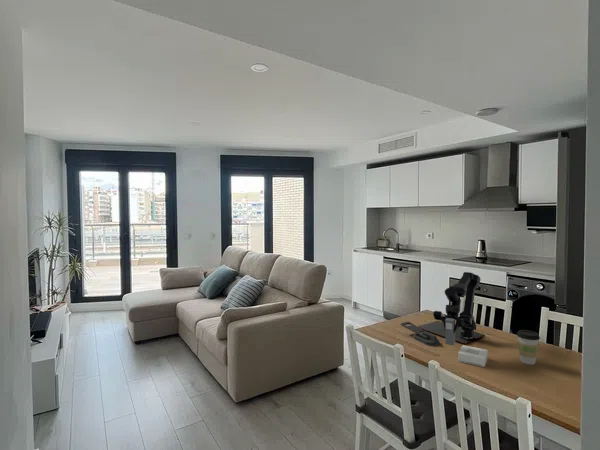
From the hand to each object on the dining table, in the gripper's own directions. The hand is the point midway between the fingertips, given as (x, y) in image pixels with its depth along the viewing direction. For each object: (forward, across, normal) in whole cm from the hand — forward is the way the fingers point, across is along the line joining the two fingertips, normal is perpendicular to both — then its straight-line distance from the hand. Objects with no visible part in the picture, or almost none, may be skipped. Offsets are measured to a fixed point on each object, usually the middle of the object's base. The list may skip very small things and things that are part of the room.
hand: (449, 332), depth 180 cm
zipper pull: (-2, -21, +22) cm, 31 cm away
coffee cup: (-1, +34, +20) cm, 40 cm away
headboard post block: (+8, +11, +11) cm, 17 cm away
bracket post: (+4, 0, +6) cm, 7 cm away
